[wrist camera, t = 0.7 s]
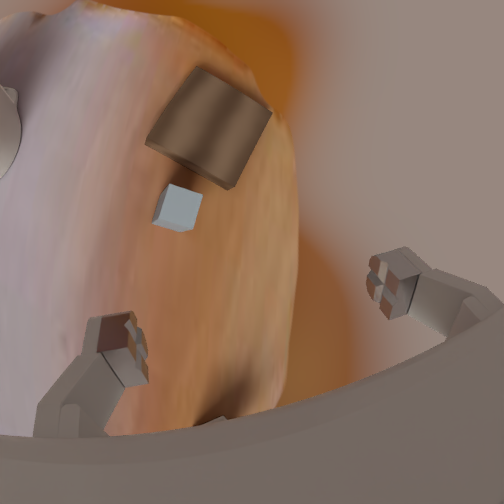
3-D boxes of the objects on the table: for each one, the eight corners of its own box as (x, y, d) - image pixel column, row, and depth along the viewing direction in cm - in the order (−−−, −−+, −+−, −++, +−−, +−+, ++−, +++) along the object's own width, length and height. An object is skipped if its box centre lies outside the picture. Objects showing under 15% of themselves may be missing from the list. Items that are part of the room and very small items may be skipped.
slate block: (151, 223, 41) (158, 218, 34) (160, 194, 42) (169, 183, 34) (179, 232, 43) (192, 229, 36) (188, 203, 43) (202, 194, 36)
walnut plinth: (144, 144, 40) (146, 137, 38) (191, 75, 43) (196, 66, 40) (227, 190, 46) (234, 186, 43) (264, 119, 48) (272, 112, 45)
